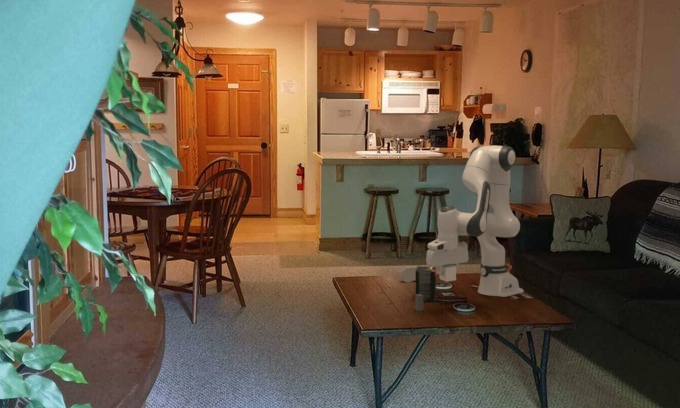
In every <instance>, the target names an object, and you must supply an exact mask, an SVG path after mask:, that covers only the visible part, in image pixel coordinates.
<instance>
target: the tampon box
mask: <svg viewBox="0 0 680 408" xmlns="http://www.w3.org/2000/svg"><path fill="white" fill-rule="evenodd" d="M423 266H424V267H423ZM427 266H428V265H417V269H416V271H415V273H416V280H415V295H416V294H421V295H423V302H427V303H428V302H429V303H431V302H432V303H435V302H436V298H437V275H436V272H437V266H435V267H427Z"/></svg>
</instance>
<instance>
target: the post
mask: <svg viewBox="0 0 680 408" xmlns="http://www.w3.org/2000/svg"><path fill="white" fill-rule="evenodd" d="M414 310H415V311H416V312H423V311H424V301H423V295H421V294H416V293H415V294H414Z"/></svg>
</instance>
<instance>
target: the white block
mask: <svg viewBox="0 0 680 408" xmlns="http://www.w3.org/2000/svg"><path fill="white" fill-rule="evenodd" d="M441 270H442V271H444V275H439V280H440V281H444V282H445V283H446V282H447V283H448V282H454V281H457V271H456V265H453V264H450V265H443V266H442V268H441Z"/></svg>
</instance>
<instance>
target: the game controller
mask: <svg viewBox="0 0 680 408" xmlns="http://www.w3.org/2000/svg"><path fill="white" fill-rule="evenodd" d="M417 266H418V265H417ZM417 266H413V265H412V266H409V265H408V266H404V267H403V268H402V269H401V270H400V273H399V276H400V279H401V280H402V281H403V282H405V283H412V282H413V281H416V273H415V271H416V269H417ZM422 266H423V267H424V266H425V265H422ZM426 266H427V267H430V266H428V265H426ZM437 274H438V273H437V271H436V276H437Z"/></svg>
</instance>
